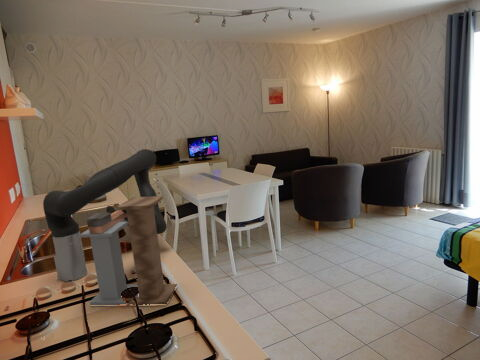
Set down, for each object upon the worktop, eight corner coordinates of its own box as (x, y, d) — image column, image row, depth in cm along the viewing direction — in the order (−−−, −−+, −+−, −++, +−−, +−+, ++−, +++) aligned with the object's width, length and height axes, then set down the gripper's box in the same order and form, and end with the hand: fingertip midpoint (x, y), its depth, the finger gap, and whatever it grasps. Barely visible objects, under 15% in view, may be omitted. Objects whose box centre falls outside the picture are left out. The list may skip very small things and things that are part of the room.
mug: (103, 197, 266) (100, 178, 263) (109, 200, 255) (106, 180, 252) (76, 203, 254) (73, 183, 251) (81, 206, 243) (77, 185, 240)
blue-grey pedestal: (90, 306, 109) (77, 234, 105) (107, 288, 120) (96, 222, 115) (126, 306, 108) (114, 233, 103) (140, 288, 118) (130, 221, 114)
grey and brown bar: (88, 233, 104) (86, 219, 103) (118, 215, 123) (116, 202, 122) (102, 232, 104) (100, 218, 103) (130, 214, 122) (128, 202, 121)
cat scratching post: (129, 306, 108) (113, 207, 101) (143, 288, 118) (129, 197, 112) (166, 306, 106) (152, 205, 100) (177, 288, 117) (165, 195, 110)
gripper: (120, 210, 135) (96, 198, 119) (155, 208, 132) (136, 196, 116) (118, 229, 132) (94, 220, 116) (154, 228, 130) (134, 218, 114)
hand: (115, 208), depth 116 cm, fingers open, 4 cm apart
